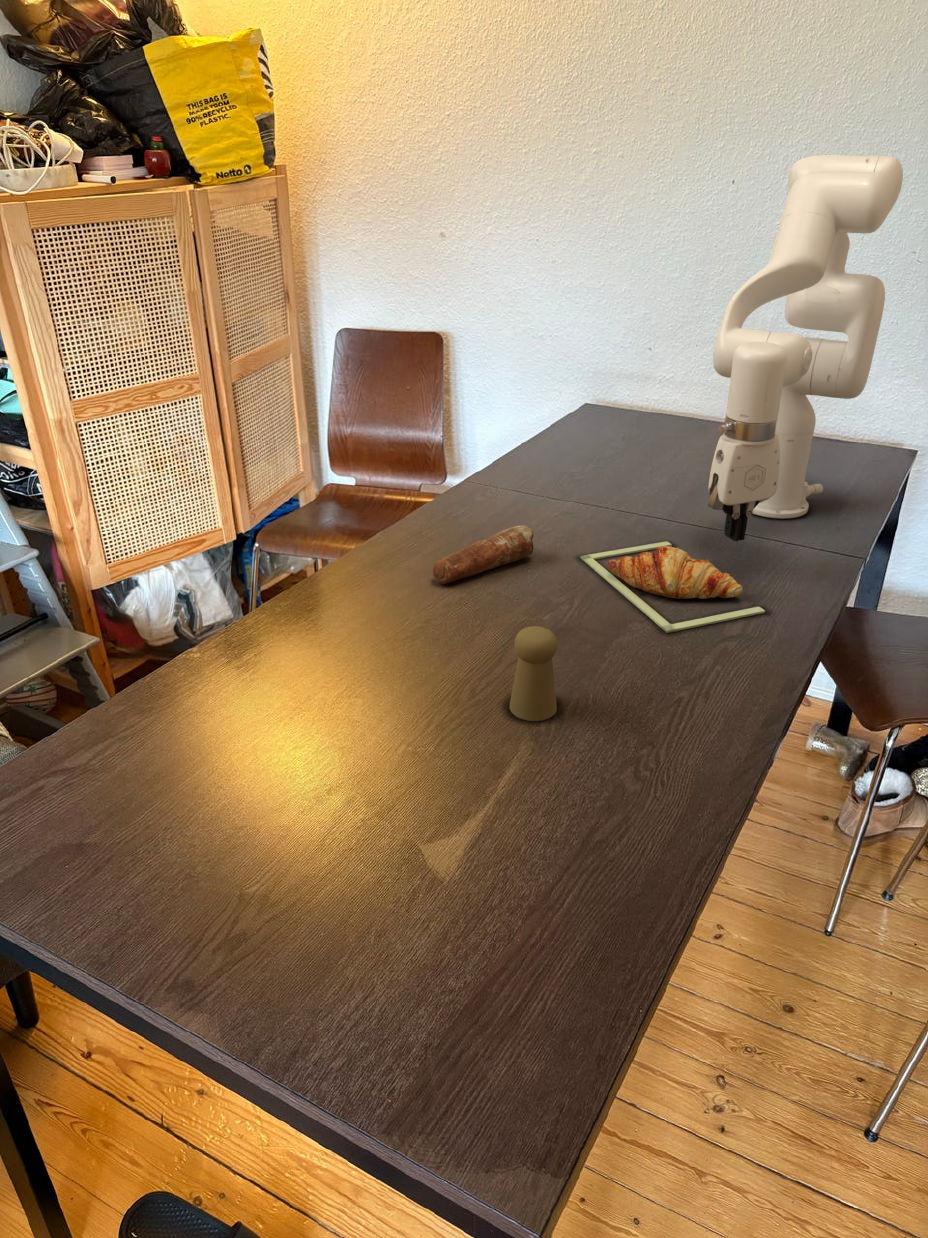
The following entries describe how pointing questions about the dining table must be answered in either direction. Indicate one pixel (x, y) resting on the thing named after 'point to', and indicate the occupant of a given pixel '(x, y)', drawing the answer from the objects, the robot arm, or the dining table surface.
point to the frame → (647, 609)
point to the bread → (485, 554)
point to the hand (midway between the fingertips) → (734, 537)
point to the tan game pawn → (534, 675)
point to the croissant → (674, 575)
